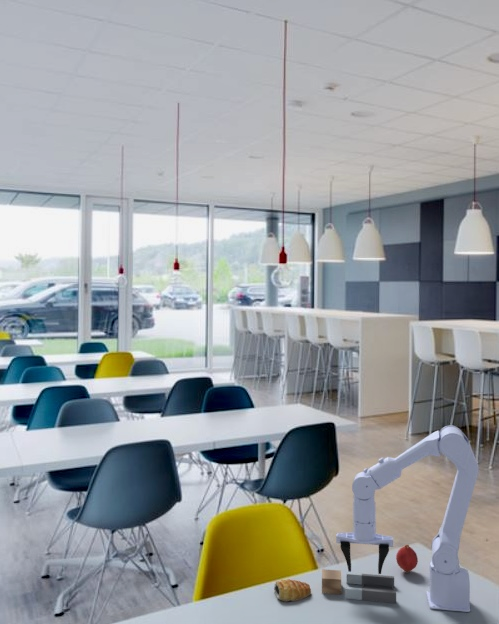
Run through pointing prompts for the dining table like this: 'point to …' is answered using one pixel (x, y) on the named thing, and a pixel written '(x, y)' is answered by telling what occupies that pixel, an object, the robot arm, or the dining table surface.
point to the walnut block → (331, 581)
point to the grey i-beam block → (371, 587)
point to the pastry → (291, 590)
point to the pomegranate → (407, 558)
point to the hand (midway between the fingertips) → (364, 571)
